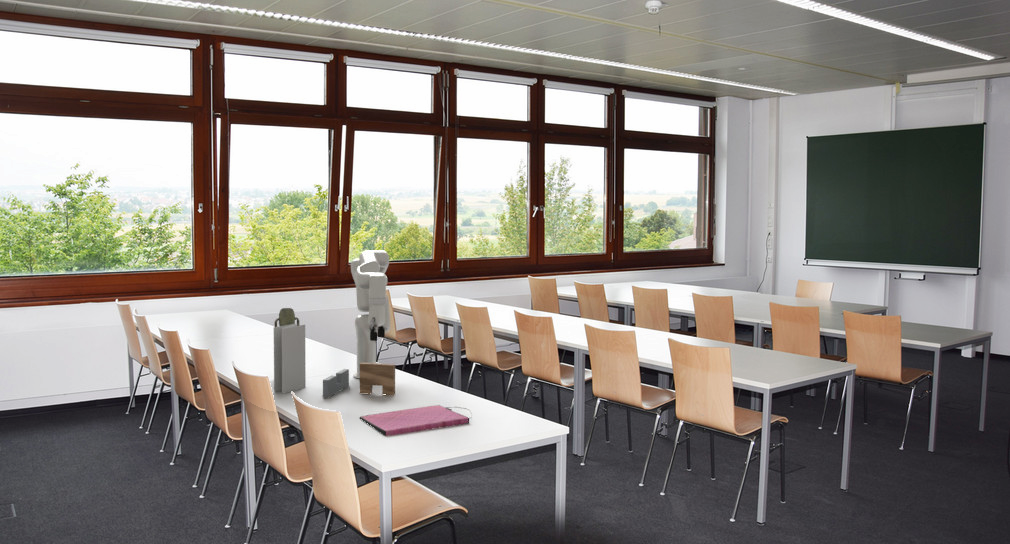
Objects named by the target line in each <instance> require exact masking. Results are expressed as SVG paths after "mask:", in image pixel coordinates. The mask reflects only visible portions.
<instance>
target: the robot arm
mask: <svg viewBox="0 0 1010 544" xmlns="http://www.w3.org/2000/svg"><path fill="white" fill-rule="evenodd" d="M389 265H390V256H389V253H388V252H387V251H386V250H384V249H383V250H380V249H379V250H375V249H374V250H373V249H372V250H371V249H369V250H364V251H361V253H360V254H359V257H358V258H355V259H353V260H352V261H351V262H350V272H351V275H352V279H353V281H354V284H355V288H356V290H355V291H356V293H355V294H356V306H357V307H356V308H357V309H358V310H357V311H359V312H361V313H365V314H360V315H357V316H356V317H355V319H354V327H355V334H356V372H355V373H354V374H353V377H354V378H355V379H358V378H360V363H362V362H364V363H377V341H378V338H385V336H386V334H385V333H388V332H389V331H390V329H391V313H390V301H389V297H388V295H387V289H386V288H387V285H388V277H387V275H386V272H387V269H388V267H389ZM366 313H367V314H366Z"/></svg>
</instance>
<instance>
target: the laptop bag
mask: <svg viewBox="0 0 1010 544" xmlns="http://www.w3.org/2000/svg"><path fill="white" fill-rule="evenodd" d="M455 408H458V409H461V407H460V406H459V407H458V406H455ZM463 409H464V410H468V411H469V412H470V414H471V415H473V414H472V412H471V410H470V409H468V408H466V407H465V408H464V407H463ZM472 418H473V417H472V416H471V417H469V418H468V416H467V415H463V414H461V413H458V412H455V411H453V410H452V409H451V407H450V406H449V407H445V406H442V405H440V404H436V405H429V406H422V407H416V408H415V407H413V408H408V409H401V410H393V411H387V412H386V411H385V412H382V413H381V412H379V413H372V414H369V415H367V414H366V415H362V416H359V419H360V420H361V419H362V420H363V421H362V420H361V421H362V422H364V421H365V422H366V423H365V422H364V423H365V424H367V423H368V424H369V425H368V424H367V425H368V426H370V425H371V426H372V427H371V426H370V427H371V428H373V427H374V428H375V429H374V428H373V429H374V430H376V431H377V430H378V431H377V432H379V433H380V432H381V433H380V434H382V435H383V436H385V437H386V436H387V437H388V435H389V436H394V435H401V434H407V433H415V431H416V432H420V431H421V430H422V431H427V430H426V429H429V430H433V429H432V428H435V429H440V428H439V427H442V428H446V426H448V427H454V426H453V425H455V426H460V425H459V424H461V425H465V424H464V423H467V424H469V423H470V419H472ZM422 431H421V432H422Z"/></svg>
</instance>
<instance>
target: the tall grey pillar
mask: <svg viewBox="0 0 1010 544" xmlns="http://www.w3.org/2000/svg"><path fill="white" fill-rule="evenodd" d="M306 374H307V373H306V324H301V325H300V324H299V326H297V323H295V324H292V325H285V326H277V327H275V326H273V392H274V393H277V392H280V391H281V394H282V393H283V394H286V392H287V393H290V392H293V391H299V390H302V389H306V382H307V381H306V376H307V375H306ZM291 390H293V391H291ZM276 391H277V392H276Z"/></svg>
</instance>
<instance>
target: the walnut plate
mask: <svg viewBox="0 0 1010 544" xmlns="http://www.w3.org/2000/svg"><path fill="white" fill-rule="evenodd" d="M373 386H378V387H379V386H380V387H382V388H381V390H382V394H386V395H385V396H387V395H393V396H395V395H396V364H395V363H378V362H376V363H364V362H362V363H360V379H359V394H360V393H368V394H367V395H371V394H373ZM370 393H371V394H370ZM394 394H395V395H394Z"/></svg>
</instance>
